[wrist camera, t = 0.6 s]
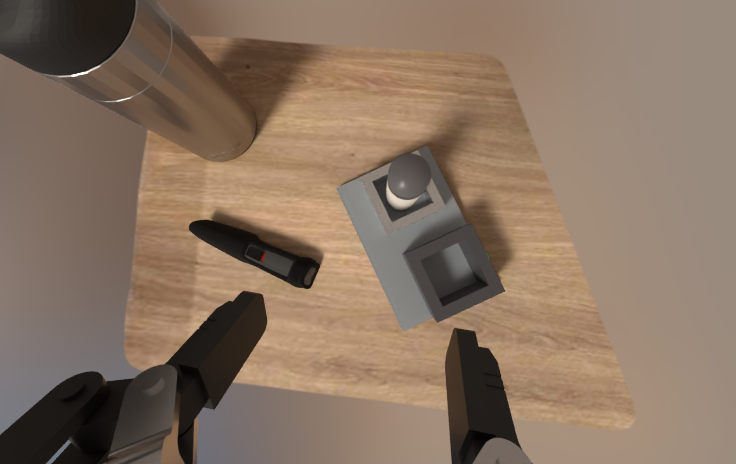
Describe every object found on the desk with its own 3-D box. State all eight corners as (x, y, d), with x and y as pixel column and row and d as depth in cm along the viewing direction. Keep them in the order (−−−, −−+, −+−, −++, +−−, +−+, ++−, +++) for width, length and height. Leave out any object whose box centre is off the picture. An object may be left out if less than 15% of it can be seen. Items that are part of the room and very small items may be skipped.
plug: (380, 189, 33) (380, 164, 23) (408, 176, 33) (419, 146, 23) (393, 216, 32) (399, 202, 23) (421, 203, 32) (438, 184, 23)
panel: (337, 189, 34) (336, 188, 33) (426, 148, 34) (427, 145, 33) (402, 329, 33) (402, 331, 32) (494, 285, 32) (498, 287, 31)
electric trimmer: (212, 213, 35) (194, 209, 32) (322, 262, 34) (316, 263, 31) (199, 240, 35) (181, 239, 32) (310, 290, 34) (302, 295, 30)
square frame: (361, 182, 33) (359, 177, 30) (414, 157, 33) (417, 149, 30) (386, 235, 32) (387, 234, 30) (440, 210, 32) (446, 207, 30)
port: (402, 254, 32) (404, 254, 29) (463, 225, 32) (474, 222, 28) (430, 314, 32) (437, 322, 28) (493, 285, 31) (507, 289, 28)
